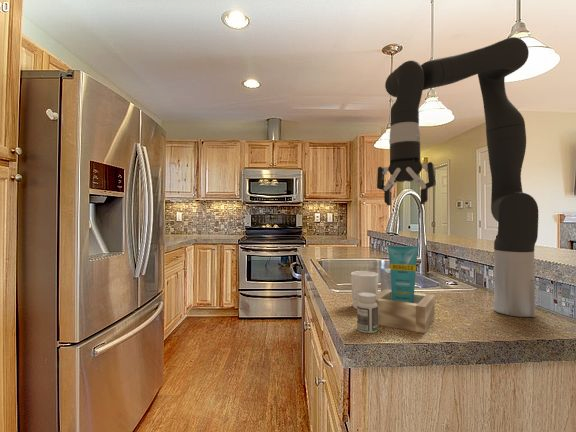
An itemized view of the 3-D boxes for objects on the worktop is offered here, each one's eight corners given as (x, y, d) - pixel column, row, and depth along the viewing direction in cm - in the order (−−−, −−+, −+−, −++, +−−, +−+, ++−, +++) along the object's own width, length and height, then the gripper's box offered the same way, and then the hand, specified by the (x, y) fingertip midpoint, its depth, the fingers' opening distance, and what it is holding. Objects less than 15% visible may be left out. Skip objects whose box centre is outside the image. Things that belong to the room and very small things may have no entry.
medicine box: (400, 299, 106) (400, 272, 106) (386, 299, 106) (386, 272, 106) (393, 293, 113) (393, 268, 113) (380, 293, 114) (380, 268, 114)
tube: (387, 321, 83) (387, 246, 83) (387, 316, 88) (387, 244, 88) (419, 324, 81) (419, 246, 81) (417, 318, 86) (417, 245, 85)
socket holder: (434, 318, 86) (434, 295, 86) (424, 333, 75) (425, 307, 75) (385, 310, 93) (385, 289, 93) (369, 323, 82) (369, 299, 82)
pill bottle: (375, 326, 79) (375, 292, 79) (380, 333, 75) (380, 296, 75) (355, 326, 80) (355, 291, 79) (359, 333, 75) (359, 296, 75)
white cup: (345, 307, 96) (345, 273, 96) (359, 302, 102) (359, 270, 102) (369, 313, 90) (369, 277, 90) (383, 307, 96) (383, 273, 96)
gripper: (436, 142, 85) (437, 204, 85) (381, 148, 93) (382, 205, 93) (431, 136, 79) (432, 203, 79) (373, 143, 86) (374, 205, 86)
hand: (405, 204), depth 86 cm, fingers open, 8 cm apart
